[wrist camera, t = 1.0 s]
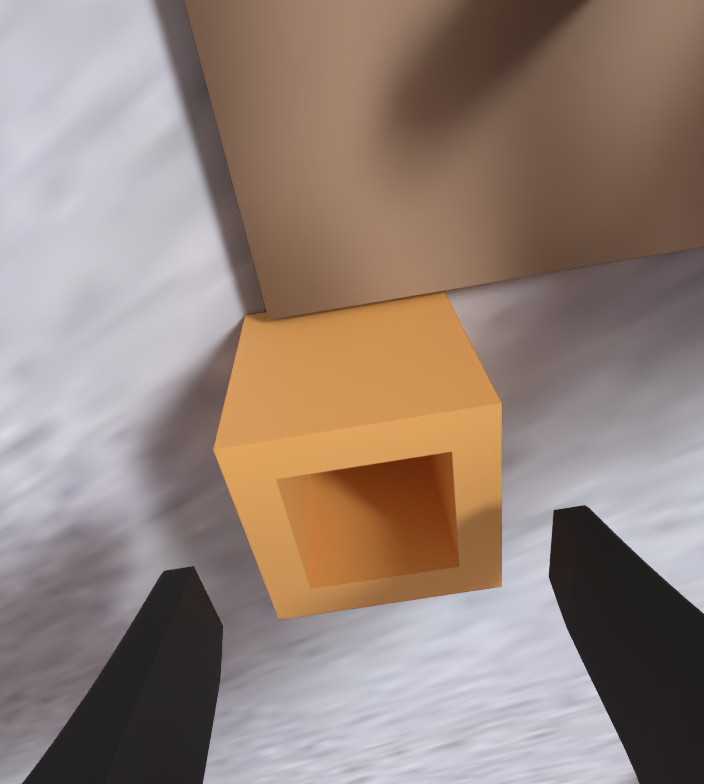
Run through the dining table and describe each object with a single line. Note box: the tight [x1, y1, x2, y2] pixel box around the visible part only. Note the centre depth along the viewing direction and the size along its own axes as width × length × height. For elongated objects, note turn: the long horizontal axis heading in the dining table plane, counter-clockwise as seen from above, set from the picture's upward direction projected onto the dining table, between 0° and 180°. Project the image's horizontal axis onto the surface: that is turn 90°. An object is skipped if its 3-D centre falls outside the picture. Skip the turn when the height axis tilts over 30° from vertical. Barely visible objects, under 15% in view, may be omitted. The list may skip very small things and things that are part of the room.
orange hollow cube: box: [213, 291, 502, 620], centre depth 14 cm, size 6×6×6 cm
